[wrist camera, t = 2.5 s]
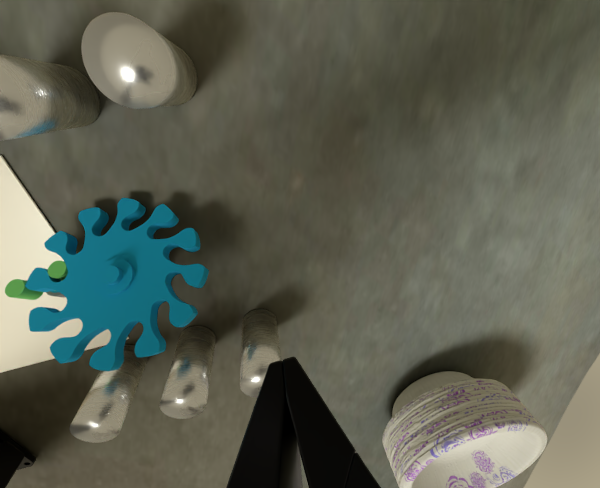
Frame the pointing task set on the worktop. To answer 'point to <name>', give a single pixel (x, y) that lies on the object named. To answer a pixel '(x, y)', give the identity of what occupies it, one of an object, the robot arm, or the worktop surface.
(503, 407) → the paper bowls
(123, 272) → the gear
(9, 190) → the pad
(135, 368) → the posts
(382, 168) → the worktop surface
